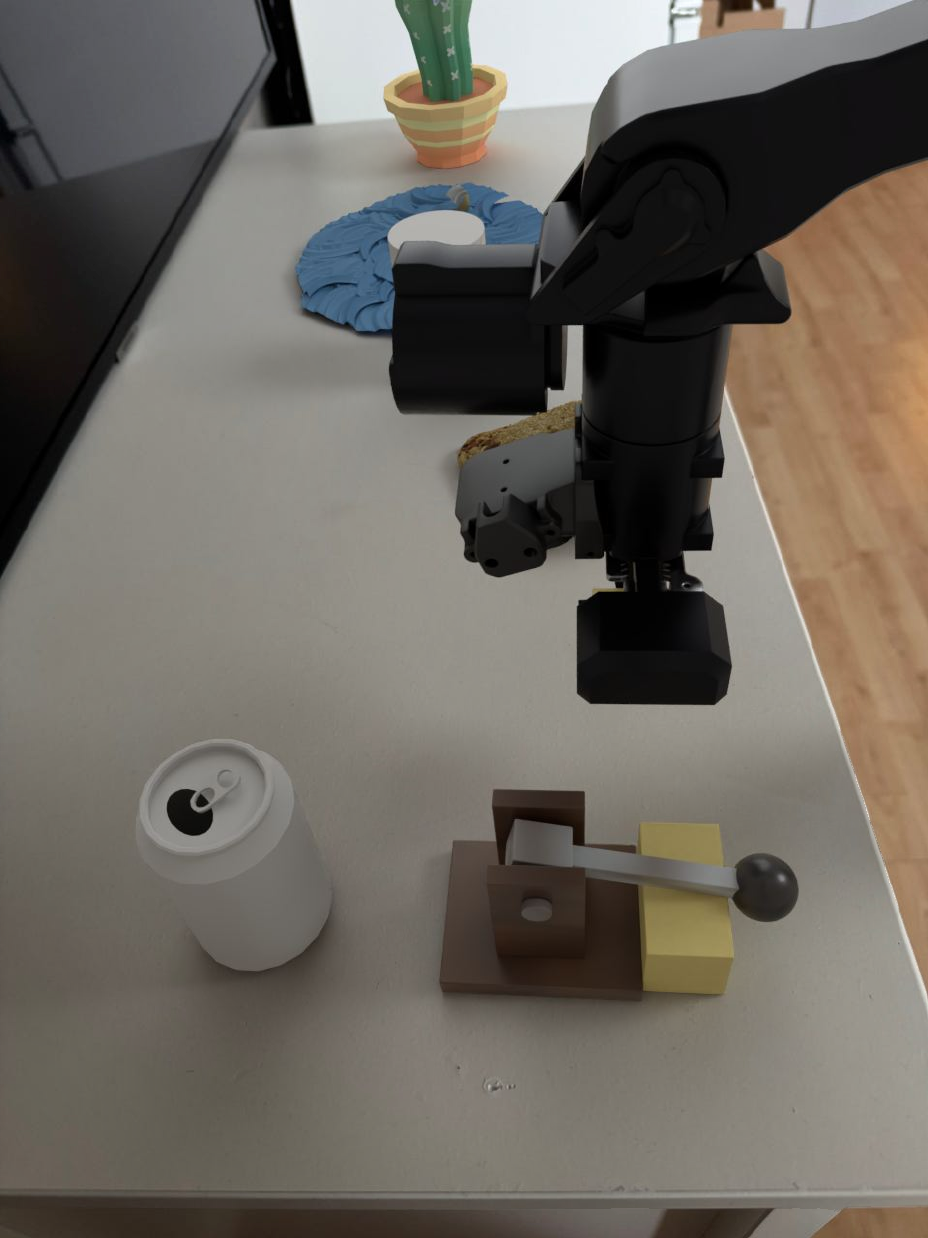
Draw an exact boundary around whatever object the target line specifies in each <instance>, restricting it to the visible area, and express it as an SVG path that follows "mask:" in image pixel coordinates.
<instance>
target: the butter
mask: <svg viewBox="0 0 928 1238" xmlns="http://www.w3.org/2000/svg"><path fill="white" fill-rule="evenodd" d="M636 854H639V855H646V856H653V857H660V858H667V859H674V860H681V861H688V862H695V863H702V864H709V865H716V866H723V867H725V864H724V855H723V846H722V836H721V829H720V825H719V824H718V823H691V822H688V823H687V822H684V823H683V822H647V821H645V822H643V821H640V822H639V824H638V834H637V846H636ZM638 896H639V917H640V939H641V960H642V981H643V992H655V993H656V992H657V993H679V994H680V993H682V994H698V995H699V994H701V995H702V994H703V995H720V996H721V995H724V994H725V991H726V987H727V983H728V980H729V977H730V975H731V974H730V973H731V970H732V967H733V963H734V960H735V950H734V943H733V935H732V934H733V932H732V925H731V917H730V916H731V915H730V906H729V900H728V899H729V897H722V896H715V895H708V894H701V893H694V892H687V891H680V890H673V889H666V888H659V887H652V886H645V885H638Z"/></svg>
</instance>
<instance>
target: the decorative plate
mask: <svg viewBox="0 0 928 1238" xmlns="http://www.w3.org/2000/svg"><path fill="white" fill-rule="evenodd" d="M510 196H511V195H510V194H508V193H506V192H504V191H498V190H495V189H493V188H492V187H491V186H489V187H487V185H483V184H482V185H478V184H475V183H473V182H467V183H462V184H459V183H456V184H454V185H451V184H450V185H447V184H446V185H444V184H437V185H433V184H430V185H427V186H425V185H423V186H421V187H420V186H415V187H413V188H411V189H409V190H407V191H404V192H400V193H399V192H397V193H396V194H395V195H389V196H388V197H386V198H385V199H382V200H379V201H376V202H374V203H372V204H371V205H370V206H364V207H363V208H362V209H360V210H358V211H354V212H348V213H347V214H346V215H342V216H340V217H339V218H338V219H337V220H334V221H330V222H329V223H327V224H325V226H323V227H322V228H320V230H319V231H318V232H316V233H314V234H313V235H312V236H311V237H310V238H309V240H308V241H307V243H306V246H305V247H304V248H303V249H302V253H301V256H300V257H299V259H298V262H297V264H296V265H295V266H294V268H295V270H294V271H295V274H296V275H297V276H298V279H299V280H298V283H299V285H300V287H301V290H302V293H301V302H300V307H302V308H304V309H306V310H308V311H310V312H311V313H319V314H320V315H323V316H324V317H326V318H327V319H330V320H331V321H334V322H335V323H337V324H338V323H339V324H340V325H345V324H346V323H347V324H348V325H349V327H352V328H354V331H356V332H367V331H368V332H378V330H381V329H382V330H392V319H393V306H394V297H395V290H394V283H393V276H392V263H391V257H390V250H389V243H388V233H389V231H390V229H391V228H392V227H393V226H394V225H395V224H397V223H398V222H400V221H401V220H403V219H405V218H408V217H410V216H413V215H416V214H420V213H424V212H430V211H439V210H453V211H461V212H466V213H469V214H472V215H474V216H476V217H478V218H479V219H480V220H481V221H482V222H483V224H484V228H485V242H486V245H488V244H536V245H537V248H538V242H539V236H540V230H541V225H542V219H543V213H542V212H540V210H538V207H534V206H533V205H532V204H526V203H525V202H523V200H509V201H502V202H498V201H499V200H501V199H504V198H508V197H510Z"/></svg>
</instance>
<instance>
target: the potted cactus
mask: <svg viewBox="0 0 928 1238" xmlns="http://www.w3.org/2000/svg"><path fill="white" fill-rule="evenodd" d="M394 4H395V8H396V11H397V13H398V14H399V16H400V18H401V20H402V22H403V24H404V26H405V28H406V31H407V33H408V36H409V39H410V42H411V47H412V50H413V54H414V57H415V60H416V64H417V68H418V69H416V70H413V71H410V72H406V73H403V74H400V75H398V76H397V77H395V78H394V79H392V80H391V81H390V82H389V83H387V84H385V85H384V86H383V96H382V99H383V102H384V105H385V107H386V110H387V112H389V113H391V114H392V115H393V116H394V117H395V121H396V122H397V124H398V127H399V128H400V131H401V133H402V136H404V138H405V139H406V140H407V141H408V143H409V144H411V146H412V147H413V148H414V149H415V150H416V162H418V163H420V164H421V165H423V166H425V167H426V168H432V169H433V168H434V169H442V170H444V169H452V168H462V167H465V166H467V165H468V166H469V165H471V164H473V163H474V164H475V163H477V162H479V161H480V160H481V159H482V158H483V157H484V156H486V154H487V149H486V145H485V143H486V142H487V140H488V138H489V136H490V134H491V133H492V131H493V129H494V128H495V125H496V121H497V117H498V113H499V109H500V105H501V102H503V101H504V100H505V99H506V97H507V92H508V86H509V85H508V80H507V75H506V73H505V72H503V71H501V70H499V69H497V68H494V67H492V66H490V65H485V64H474V63H473V59H472V50H471V41H470V39H471V38H470V31H469V22H470V17H471V11H472V6H473V5H472V4H473V0H394Z"/></svg>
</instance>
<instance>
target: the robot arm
mask: <svg viewBox="0 0 928 1238" xmlns="http://www.w3.org/2000/svg"><path fill="white" fill-rule="evenodd" d="M927 161H928V0H910V1H907V2H905V3H902V4H899V5H896V6H894V7H891V8H888V9H885V10H883V11H880V12H877V13H875V14H872V15H869V16H867V17H864V18H861V19H857V20H852V21H848V22H842V23H838V24H831V25H827V26H822V27H814V28H765V29H764V28H756V29H755V28H754V29H744V30H739V31H734V32H727V33H723V34H718V35H712V36H707V37H702V38H697V39H692V40H686V41H681V42H675V43H671V44H666V45H661V46H657V47H654V48H650V49H647V50H645V51H643V52H642V53H640V54H639V55H636V56H635V57H633V58H631V59H630V60H627V61H626V62H625V63H623V64H621V66H620V67H619V68H618V69H617V70H616V71H615V72H614V73H613V74H612V75H611V76H609V78H608V80H607V83H605V85H604V87H603V89H602V90H601V93H600V95H599V97H598V99H597V101H596V103H595V105H594V107H593V109H592V111H591V115H590V119H589V125H588V130H587V138H586V146H585V153H584V156H583V157H582V159H581V160H580V162H578V165H577V166H576V167H575V168H574V170H573V171H572V173H571V174H570V176H569V177H568V178H567V180H566V181H565V182H564V184H563V186H561V188H560V189H559V191H558V192H557V193H556V194H555V196H554V198H553V199H552V200H551V201H550V203H549V205H548V206H547V208H546V209H545V210H544V212H543V213H542V214H543V219H542V225H541V230H540V236H539V242H538V248H537V245H536V244H488V245H450V244H446V243H441V242H437V241H404V242H403V243H402V244H401V246H400V248H399V251H398V253H397V256H396V259H395V261H394V264H393V267H392V276H393V283H394V290H395V297H394V306H393V319H392V329H391V349H392V350H391V351H392V354H391V357H390V359H389V363H388V375H389V382H390V383H389V384H390V387H391V393H392V397H393V400H394V403H395V407H396V408H397V410H398V412H399V413H400V414H402V415H404V416H407V415H408V416H409V415H410V416H411V415H412V416H419V415H420V416H424V415H425V416H514V417H515V416H519V417H521V416H522V417H523V416H524V417H525V416H527V417H532V416H536V415H537V414H538V413H547V410H548V401H549V389H550V391H565V387H566V379H567V364H568V342H569V341H568V339H569V335H568V333H569V326H582V356H581V357H582V360H581V361H582V362H581V363H582V366H581V367H582V369H581V371H582V373H581V374H582V375H581V377H582V378H581V379H582V380H581V381H582V382H581V383H582V384H581V386H582V387H581V400H582V404H581V403H575V428H572V429H568V430H563V431H559V432H555V433H551V434H549V433H540V434H535V435H532V436H529V437H526V438H523V439H520V440H517V441H514V442H511V443H508V444H504V445H501V446H498V447H495V448H492V449H489V450H486V451H483V452H480V453H477V454H475V455H473V456H472V457H470V458H469V459H468V460H467V461H466V462H465V463H464V464H463V465H462V467H461V469H459V475H458V484H457V490H456V491H457V492H456V499H455V508H454V515H455V518H456V519H457V522H458V523H459V524H460V530H459V534H460V536H461V537H462V539H463V542H464V549H463V558H464V559H465V560H466V561H467V562H469V563H473V564H477V563H478V564H479V565H480V567H481V569H482V571H483V572H484V573H485V574H486V575H488V576H490V577H494V578H499V579H500V578H504V577H507V576H511V575H515V574H516V575H517V574H519V573H523V572H527V571H530V570H533V569H538V568H541V567H542V566H543V565H544V563H546V561H547V557H548V555H547V554H548V550H551V549H556V548H558V547H561V546H563V545H565V544H566V543H568V542H570V541H571V539H572V538H574V559H575V560H602V559H603V558H605V578H606V580H607V581H608V582H611V583H614V585H615V586H614V587H615V588H624V589H623V591H598V592H597V593H595V594H594V595H592V594H591V595H590V596H589V597H587V598H586V599H577V603H578V604H577V605H576V694H577V695H578V696H579V697H580V698H582V699H583V700H584V701H586V702H587V703H588V704H589V705H638V706H639V705H641V706H642V705H645V706H646V705H650V706H651V705H652V706H656V705H657V706H715V705H717V704H718V703H719V702H720V701H721V700H723V699H724V698H725V697H726V696H727V695H728V690H729V685H730V681H731V680H730V679H731V675H732V670H733V663H732V656H731V650H730V649H731V648H730V641H729V635H728V628H727V621H726V615H725V614H726V613H725V609H724V605H723V604H722V603H720V602H719V601H718V600H716V599H715V598H714V597H712V596H711V595H710V594H708V593H707V592H706V591H705V589H704V584H703V581H702V580H701V579H700V578H699V577H697V576H695V575H692V574H690V573H688V572H687V569H686V562H685V560H686V559H685V554H684V553H685V552H706V551H707V552H712V550H713V543H714V537H715V532H714V524H713V519H712V512H711V506H710V499H711V491H712V483H713V479H722V478H723V473H724V468H725V467H724V466H725V461H726V460H725V459H726V457H725V452H724V446H723V439H722V434H721V429H720V424H721V417H722V409H723V408H722V407H723V401H724V393H725V386H726V378H727V371H728V363H729V356H730V348H731V341H732V334H733V326H734V325H735V326H736V325H782V324H785V323H787V322H788V321H789V320H790V318H791V317H792V314H793V313H792V311H793V310H792V305H791V300H790V295H789V288H788V284H787V277H786V273H785V267H784V264H783V263H782V262H780V260H778V259H776V258H775V257H774V256H773V255H771V253H769V252H767V250H765V248H768V247H769V246H772V245H774V244H776V243H778V242H780V241H783V240H785V239H786V238H788V237H789V236H790V235H792V234H793V233H795V232H796V231H798V230H799V229H800V228H801V227H802V226H804V225H805V224H806V223H807V222H809V221H810V220H812V219H813V218H814V217H815V216H817V215H818V214H819V213H821V212H822V211H823V210H824V209H826V208H827V207H829V205H831V204H832V203H833V202H834V201H836V200H837V199H838V198H840V197H841V196H843V195H844V194H846V193H847V192H850V191H851V190H853V189H856V188H858V187H860V186H862V185H864V184H866V183H869V182H871V181H873V180H875V179H876V178H879V177H881V176H882V175H885V174H888V173H891V172H894V171H897V170H900V169H904V168H907V167H911V166H913V165H917V164H921V163H924V162H927ZM668 582H669V583H668ZM667 588H669V590H668V589H667Z"/></svg>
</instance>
